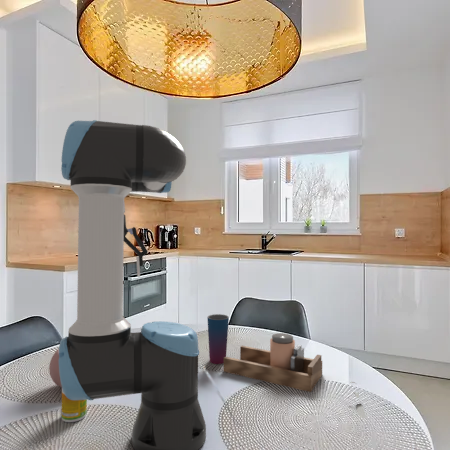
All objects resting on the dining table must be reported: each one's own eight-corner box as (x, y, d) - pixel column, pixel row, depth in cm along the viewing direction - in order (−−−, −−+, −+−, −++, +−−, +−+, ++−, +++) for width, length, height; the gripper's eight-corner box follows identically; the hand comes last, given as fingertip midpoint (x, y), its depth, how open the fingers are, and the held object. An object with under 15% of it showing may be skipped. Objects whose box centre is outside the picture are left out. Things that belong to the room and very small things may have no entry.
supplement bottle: (83, 422, 80) (84, 379, 80) (58, 424, 79) (58, 380, 79) (88, 409, 85) (89, 369, 85) (65, 411, 84) (65, 370, 84)
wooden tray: (223, 374, 105) (223, 351, 105) (241, 360, 116) (242, 339, 116) (310, 395, 93) (311, 368, 93) (322, 377, 104) (322, 353, 104)
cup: (218, 370, 108) (218, 321, 108) (202, 364, 113) (203, 316, 113) (232, 363, 113) (233, 316, 113) (217, 358, 118) (217, 313, 118)
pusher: (290, 383, 97) (290, 351, 97) (300, 371, 105) (300, 342, 105) (294, 384, 96) (294, 352, 96) (303, 371, 105) (304, 342, 104)
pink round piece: (99, 391, 94) (99, 348, 94) (48, 401, 88) (49, 355, 88) (94, 374, 105) (94, 335, 105) (49, 382, 99) (49, 341, 99)
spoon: (360, 388, 98) (360, 382, 98) (375, 430, 78) (375, 422, 78) (345, 386, 99) (345, 380, 99) (355, 427, 79) (355, 420, 79)
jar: (298, 378, 101) (299, 339, 100) (276, 381, 99) (276, 341, 99) (287, 369, 107) (288, 331, 107) (266, 371, 105) (266, 333, 105)
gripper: (150, 213, 125) (155, 274, 123) (74, 217, 118) (78, 282, 116) (152, 210, 118) (157, 275, 116) (71, 214, 111) (75, 283, 109)
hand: (117, 278), depth 116 cm, fingers open, 13 cm apart
